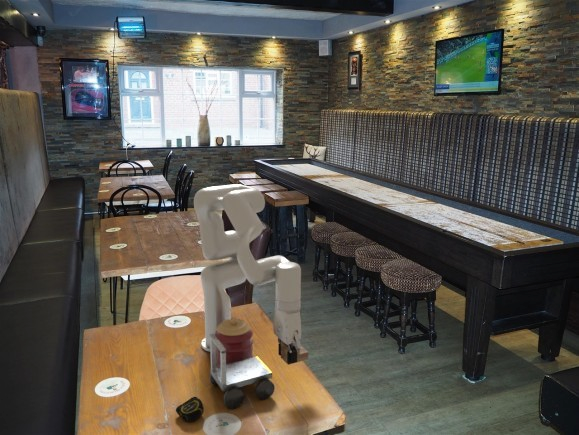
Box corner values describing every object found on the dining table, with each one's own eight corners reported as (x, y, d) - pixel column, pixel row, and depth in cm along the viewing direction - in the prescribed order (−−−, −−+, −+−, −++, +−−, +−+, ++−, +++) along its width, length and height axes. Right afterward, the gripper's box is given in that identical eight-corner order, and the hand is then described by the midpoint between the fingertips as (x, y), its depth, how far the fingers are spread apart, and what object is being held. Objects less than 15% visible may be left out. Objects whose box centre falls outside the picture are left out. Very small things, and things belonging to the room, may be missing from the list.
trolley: (208, 386, 152) (207, 331, 148) (255, 373, 160) (255, 320, 155) (224, 411, 140) (223, 352, 136) (274, 396, 148) (274, 339, 143)
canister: (222, 353, 173) (221, 308, 169) (257, 357, 171) (257, 311, 167) (210, 372, 160) (208, 324, 156) (247, 377, 158) (247, 328, 154)
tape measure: (198, 402, 142) (195, 392, 141) (209, 414, 137) (206, 405, 136) (177, 415, 139) (174, 406, 137) (187, 428, 134) (184, 418, 132)
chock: (280, 357, 149) (280, 341, 148) (300, 352, 152) (300, 336, 151) (288, 364, 145) (288, 348, 144) (308, 359, 148) (308, 342, 147)
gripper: (264, 295, 149) (264, 349, 153) (290, 316, 134) (290, 375, 139) (285, 291, 153) (285, 344, 157) (313, 311, 138) (312, 368, 142)
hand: (287, 358), depth 148 cm, fingers closed on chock, 5 cm apart
